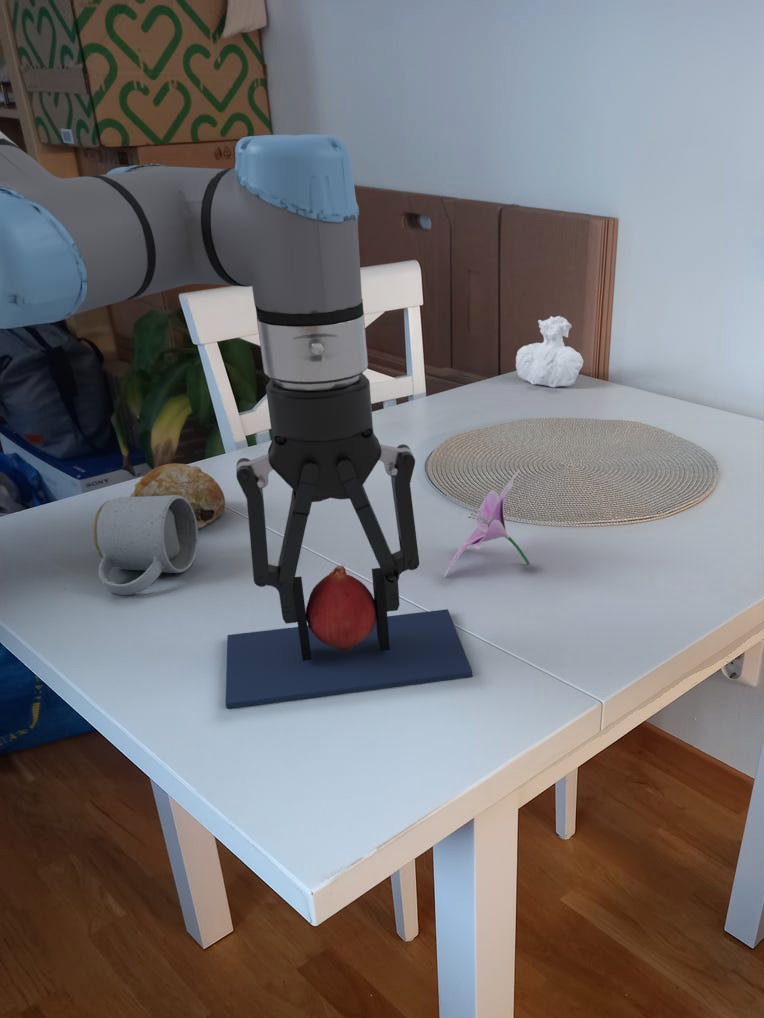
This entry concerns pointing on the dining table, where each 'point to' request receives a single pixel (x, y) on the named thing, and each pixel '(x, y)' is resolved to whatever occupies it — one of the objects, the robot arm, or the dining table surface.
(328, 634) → the onion
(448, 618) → the board
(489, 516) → the lily
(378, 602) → the robot arm
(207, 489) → the bread roll
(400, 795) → the dining table surface
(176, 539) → the ceramic mug
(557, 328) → the bust
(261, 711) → the dining table surface
